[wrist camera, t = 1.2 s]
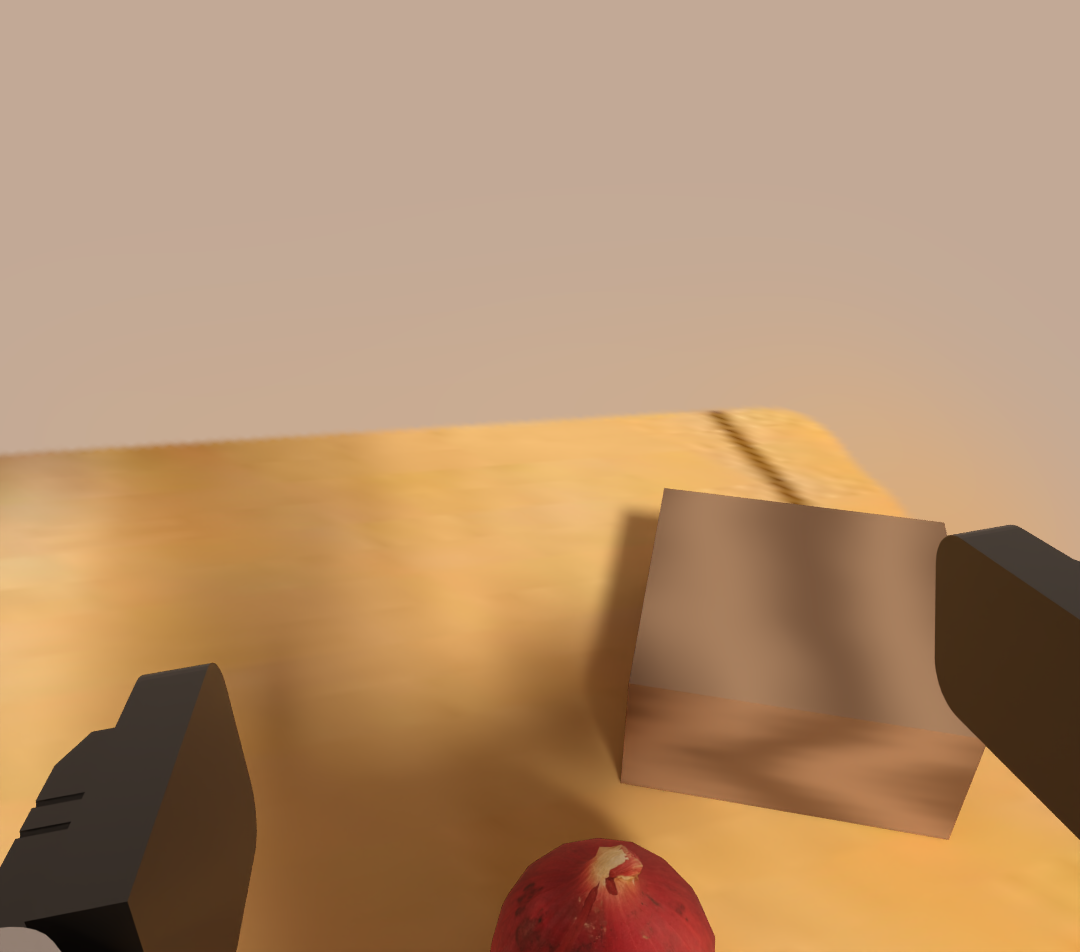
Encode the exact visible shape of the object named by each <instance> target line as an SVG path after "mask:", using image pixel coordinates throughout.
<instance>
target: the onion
mask: <svg viewBox="0 0 1080 952" xmlns="http://www.w3.org/2000/svg"><path fill="white" fill-rule="evenodd" d="M490 952H715V936H714V933H713V931H712V929H711V927H710V924H709V922H708V920H707V918H706V915H705V913H704V911H703V908H702V906H701V904H700V902H699V899H698V897H697V895H696V894H695V892H694V890H693V889H692V887H691V886H690V885H689V884H688V883H687V882H686V881H685V880H684V879H683V878H682V877H681V876H680V875H679V874H678V873H677V872H676V871H675V870H674V869H673V868H672V867H671V866H670V865H669V864H668V863H667V862H666V861H665V860H664V859H663V858H661V857H659V856H657V855H656V854H654V853H652V852H650V851H648V850H646V849H644V848H642V847H640V846H638V845H636V844H635V843H633V842H627V841H618V840H610V839H602V838H595V839H589V840H583V841H577V842H571V843H565V844H562V845H561V846H559V847H558V848H556V849H554V850H553V851H551V852H549V853H548V854H546V855H545V856H543V857H541V858H540V859H538V860H536V861H535V862H534V863H532V864H531V865H530V866H528V868H527V869H526V870H525V872H524V873H523V874H522V876H521V877H520V879H519V880H518V881H517V883H516V884H515V886H514V887H513V888H512V890H511V891H510V892H509V894H508V896H507V898H506V899H505V901H504V903H503V905H502V908H501V911H500V915H499V919H498V922H497V926H496V929H495V933H494V936H493V940H492V945H491V950H490Z"/></svg>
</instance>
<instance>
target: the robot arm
mask: <svg viewBox="0 0 1080 952" xmlns="http://www.w3.org/2000/svg"><path fill="white" fill-rule="evenodd" d="M935 669H936V675H937V679H938V683H939V686H940V689H941V692H942V694H943V696H944V698H945V701H946V702H947V704H948V706H949V707H950V709H951V710H952V712H953V713H954V714H955V715H956V716H957V718H958V719H959V720H960V721H961V722H962V723H963V724H964V725H965V726H966V727H967V728H968V729H969V730H970V731H971V732H972V733H973V734H974V735H975V736H976V737H977V738H978V739H979V740H980V741H981V742H982V743H983V744H984V745H985V746H986V747H987V748H988V749H989V750H990V751H991V752H992V753H993V754H994V755H995V756H996V757H997V758H998V759H999V760H1000V761H1001V762H1002V763H1003V764H1004V765H1005V766H1006V767H1007V768H1008V769H1009V770H1010V771H1011V772H1012V773H1013V774H1014V775H1015V776H1016V777H1017V778H1018V779H1019V780H1020V781H1021V782H1022V783H1023V784H1024V785H1025V786H1026V787H1027V788H1028V789H1029V790H1030V791H1031V792H1032V793H1033V794H1034V795H1035V796H1036V797H1037V798H1038V799H1039V800H1040V801H1041V802H1042V803H1043V804H1044V805H1045V806H1046V807H1047V808H1048V809H1049V810H1050V811H1051V812H1052V813H1053V814H1054V815H1055V816H1056V817H1057V818H1058V819H1059V820H1060V821H1061V822H1062V823H1063V824H1064V825H1065V826H1066V827H1067V828H1068V829H1069V830H1070V831H1071V832H1072V833H1073V834H1074V835H1075V836H1076V837H1077V838H1078V839H1079V840H1080V561H1077V560H1074V559H1072V558H1070V557H1069V556H1067V555H1065V554H1064V553H1062V552H1060V551H1059V550H1057V549H1055V548H1053V547H1052V546H1050V545H1049V544H1047V543H1045V542H1044V541H1042V540H1040V539H1039V538H1037V537H1035V536H1034V535H1032V534H1030V533H1029V532H1027V531H1025V530H1024V529H1022V528H1020V527H1018V526H1015V525H1006V526H1000V527H994V528H989V529H983V530H977V531H971V532H966V533H960V534H954V535H949V536H946V537H945V538H944V539H943V540H942V541H941V542H940V544H939V547H938V549H937V554H936V582H935ZM256 833H257V829H256V811H255V802H254V796H253V790H252V786H251V782H250V778H249V774H248V770H247V766H246V762H245V758H244V754H243V751H242V747H241V743H240V739H239V735H238V731H237V727H236V723H235V719H234V716H233V712H232V708H231V704H230V700H229V696H228V692H227V688H226V685H225V681H224V678H223V676H222V673H221V671H220V669H219V668H218V666H217V665H216V664H215V663H209V664H204V665H198V666H192V667H187V668H181V669H175V670H170V671H164V672H158V673H152V674H147V675H142V676H140V677H139V678H138V680H137V682H136V684H135V686H134V688H133V690H132V692H131V695H130V697H129V699H128V701H127V703H126V705H125V707H124V710H123V712H122V714H121V716H120V718H119V720H118V722H117V724H116V727H115V728H110V729H105V730H99V731H94V732H91V733H90V734H89V735H88V736H87V737H86V738H85V739H84V740H82V741H81V742H80V743H79V744H78V745H77V746H76V747H75V748H74V749H73V750H71V751H70V752H69V753H68V754H67V755H66V756H65V757H64V758H63V759H62V760H60V761H59V762H58V763H57V764H56V765H55V766H54V768H53V770H52V772H51V774H50V775H49V777H48V779H47V781H46V783H45V785H44V787H43V788H42V790H41V792H40V794H39V796H38V798H37V800H36V808H32V809H31V811H30V813H29V815H28V816H27V818H26V820H25V822H24V824H23V826H22V828H21V829H20V838H18V839H15V841H14V843H13V844H12V846H11V848H10V850H9V852H8V854H7V856H6V857H5V859H4V861H3V863H2V865H1V867H0V952H236V950H237V945H238V939H239V934H240V929H241V923H242V918H243V913H244V907H245V902H246V897H247V891H248V886H249V881H250V875H251V870H252V865H253V859H254V854H255V848H256Z"/></svg>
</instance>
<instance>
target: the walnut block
mask: <svg viewBox="0 0 1080 952" xmlns="http://www.w3.org/2000/svg"><path fill="white" fill-rule="evenodd" d="M946 536H947V535H946V529H945V524H944V523H942V522H934V521H926V520H918V519H910V518H902V517H894V516H886V515H878V514H870V513H862V512H853V511H845V510H837V509H829V508H821V507H813V506H805V505H797V504H789V503H781V502H772V501H764V500H756V499H748V498H740V497H732V496H724V495H716V494H708V493H700V492H692V491H683V490H675V489H667V488H664V493H663V498H662V504H661V509H660V515H659V520H658V526H657V531H656V537H655V542H654V548H653V553H652V559H651V564H650V570H649V575H648V581H647V586H646V592H645V597H644V603H643V608H642V614H641V619H640V625H639V630H638V636H637V641H636V647H635V652H634V658H633V663H632V669H631V674H630V680H629V688H628V700H627V712H626V725H625V737H624V749H623V762H622V774H621V783H625V784H631V785H636V786H642V787H648V788H654V789H660V790H665V791H671V792H677V793H683V794H688V795H694V796H700V797H706V798H711V799H717V800H723V801H729V802H735V803H740V804H746V805H752V806H758V807H763V808H769V809H775V810H781V811H786V812H792V813H798V814H804V815H810V816H815V817H821V818H827V819H833V820H838V821H844V822H850V823H856V824H861V825H867V826H873V827H879V828H885V829H890V830H896V831H902V832H908V833H913V834H919V835H925V836H931V837H936V838H942V839H948V840H949V837H950V835H951V832H952V830H953V827H954V825H955V822H956V820H957V817H958V815H959V812H960V810H961V807H962V805H963V802H964V800H965V797H966V795H967V792H968V789H969V787H970V784H971V782H972V779H973V777H974V774H975V772H976V769H977V767H978V764H979V762H980V759H981V757H982V754H983V752H984V749H985V747H986V746H985V745H984V744H983V743H982V742H981V741H980V740H979V739H978V738H977V737H976V736H975V735H974V734H973V733H972V732H971V731H970V730H969V729H968V728H967V727H966V726H965V725H964V724H963V723H962V722H961V721H960V720H959V719H958V718H957V716H956V715H955V714H954V713H953V712H952V710H951V709H950V707H949V706H948V704H947V702H946V701H945V698H944V696H943V694H942V692H941V689H940V686H939V683H938V679H937V675H936V669H935V582H936V554H937V549H938V547H939V544H940V542H941V541H942V540H943V539H944V538H945V537H946Z"/></svg>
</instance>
